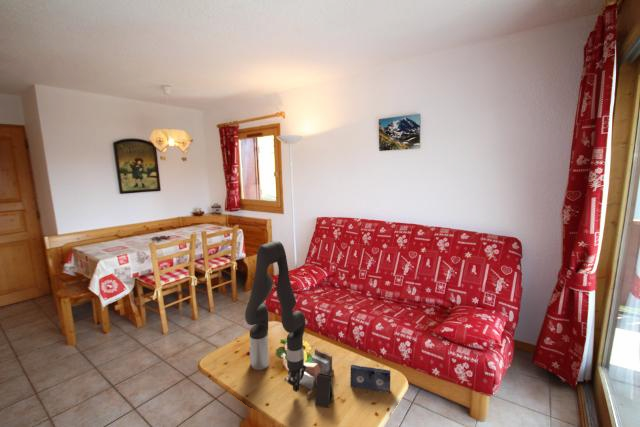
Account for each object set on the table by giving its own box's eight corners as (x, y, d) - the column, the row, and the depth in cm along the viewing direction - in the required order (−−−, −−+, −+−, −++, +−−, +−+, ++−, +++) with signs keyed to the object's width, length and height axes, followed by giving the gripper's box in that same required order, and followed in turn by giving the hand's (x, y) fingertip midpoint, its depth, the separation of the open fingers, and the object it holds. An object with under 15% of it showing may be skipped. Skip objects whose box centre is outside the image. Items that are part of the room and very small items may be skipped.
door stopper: (328, 408, 131) (327, 383, 129) (314, 405, 132) (314, 380, 131) (333, 393, 139) (333, 369, 137) (321, 390, 141) (320, 367, 139)
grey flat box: (298, 383, 146) (298, 370, 145) (301, 380, 148) (300, 367, 147) (313, 391, 141) (313, 377, 140) (316, 388, 142) (315, 375, 141)
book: (318, 384, 141) (313, 367, 141) (304, 382, 147) (299, 365, 147) (322, 380, 144) (318, 363, 144) (308, 378, 149) (304, 361, 150)
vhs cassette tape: (390, 389, 141) (390, 370, 139) (390, 394, 138) (390, 374, 137) (351, 382, 146) (351, 363, 144) (350, 386, 143) (350, 367, 142)
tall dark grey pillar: (290, 389, 142) (290, 369, 141) (316, 366, 158) (316, 348, 157) (309, 399, 136) (308, 379, 134) (334, 374, 152) (333, 356, 150)
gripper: (291, 367, 127) (292, 403, 130) (310, 351, 138) (311, 385, 141) (278, 360, 132) (280, 395, 135) (298, 345, 142) (299, 378, 145)
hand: (296, 390), depth 138 cm, fingers closed
